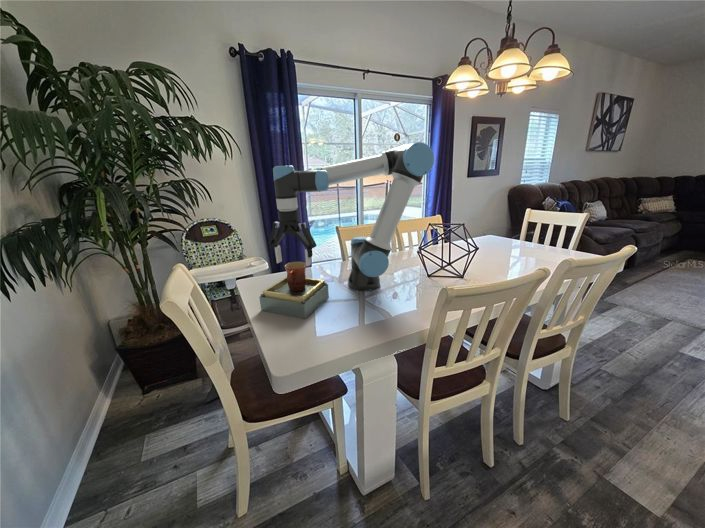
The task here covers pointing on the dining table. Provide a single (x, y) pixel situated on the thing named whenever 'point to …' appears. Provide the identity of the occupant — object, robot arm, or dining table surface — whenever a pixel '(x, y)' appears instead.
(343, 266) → the dining table surface
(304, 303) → the yellow rimmed grey box
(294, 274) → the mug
